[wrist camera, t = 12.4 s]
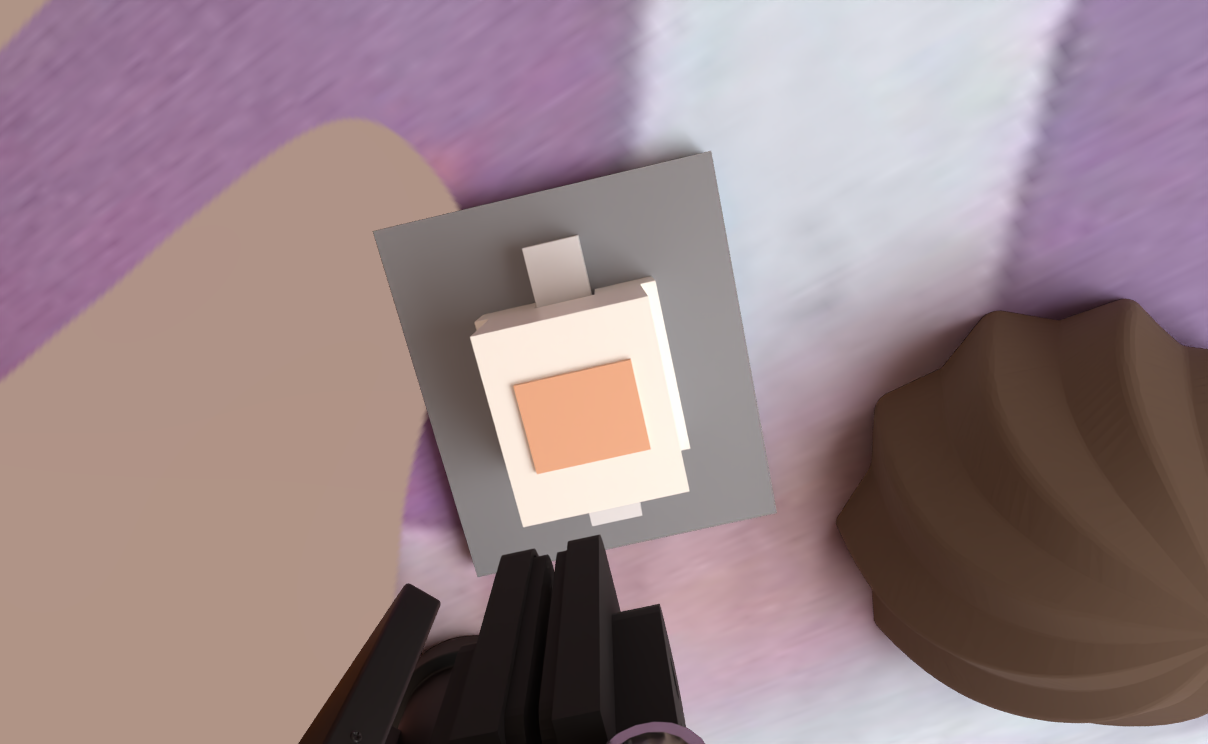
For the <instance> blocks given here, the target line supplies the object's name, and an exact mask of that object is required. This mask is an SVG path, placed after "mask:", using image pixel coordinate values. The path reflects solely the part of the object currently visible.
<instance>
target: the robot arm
mask: <svg viewBox="0 0 1208 744" xmlns="http://www.w3.org/2000/svg"><path fill="white" fill-rule="evenodd" d="M429 744H705V743H704V741H703V740H702V738H700V737H699V736H698V735H696V734H695V733H694V732H692V731H691V730H690V729H688V728H686V725H685V719H684V713H683V707H682V702H681V696H680V691H679V686H678V681H677V676H676V671H675V666H674V662H673V657H672V653H671V648H670V644H669V639H668V635H667V631H666V627H665V622H664V618H663V614H662V610H661V607H660V604H656V605H652V606H647V607H642V608H637V609H632V610H628V611H623V612H621V611H620V607H619V603H618V599H617V595H616V591H615V587H614V583H613V579H612V575H611V571H610V567H609V563H608V559H607V555H606V551H605V547H604V544H603V540H602V537H601V535H600V534H599V535H595V536H590V537H585V538H581V539H576V540H571V541H568V543H567V550H566V551H561V552H557V555H556V564H555V572H554V568H553V565H552V561H551V559H550V556H549V555H548V554H547V555H542V556H539V555H538V553H537V551H536V549H535V548H534V549H529V550H524V551H519V552H515V553H510V554H505V555H502V556H501V558H500V562H499V565H498V569H497V573H496V576H495V580H494V583H493V587H492V590H491V594H490V598H489V601H488V605H487V608H486V612H485V615H484V619H483V623H482V626H481V630H480V633H479V637H478V640H477V642H473V643H468V644H464V645H463V646H461V647H460V649H459V651H458V654H457V657H456V660H455V663H454V666H453V669H452V673H451V676H450V679H449V682H448V685H447V688H446V692H445V695H444V698H443V701H442V704H441V707H440V711H439V714H438V717H437V720H436V723H435V726H434V729H433V733H432V736H431V739H430V742H429Z"/></svg>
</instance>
